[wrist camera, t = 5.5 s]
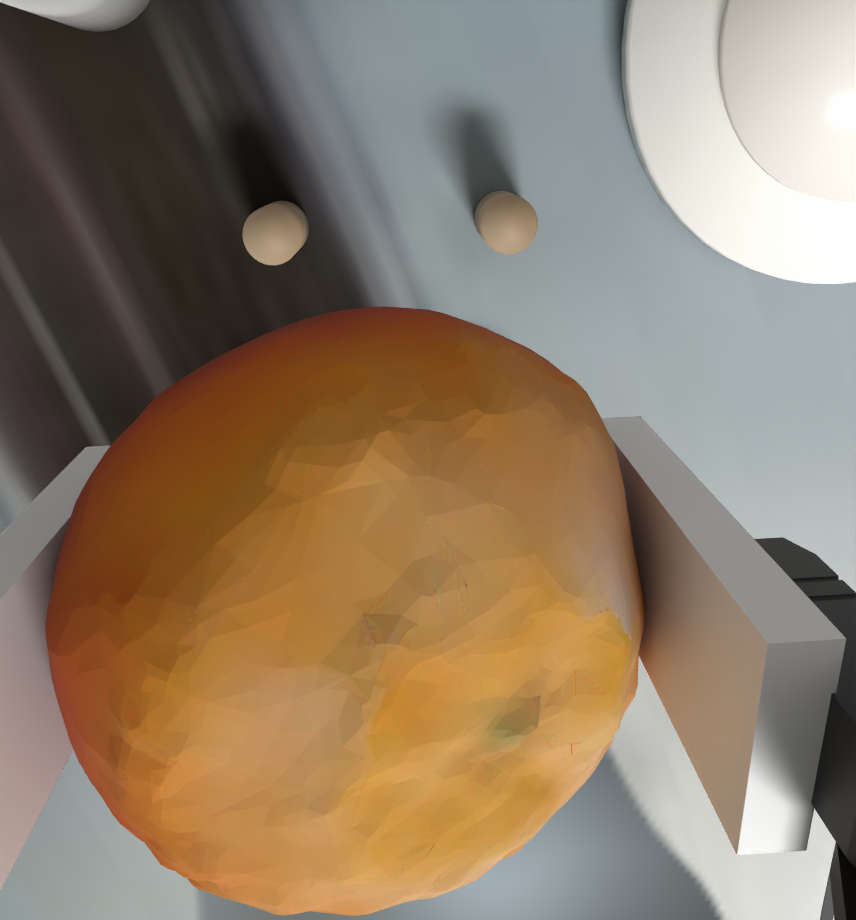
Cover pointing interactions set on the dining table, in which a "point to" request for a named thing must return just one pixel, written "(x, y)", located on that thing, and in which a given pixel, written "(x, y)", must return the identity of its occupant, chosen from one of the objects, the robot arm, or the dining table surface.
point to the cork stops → (286, 227)
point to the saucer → (750, 126)
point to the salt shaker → (85, 12)
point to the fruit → (349, 611)
